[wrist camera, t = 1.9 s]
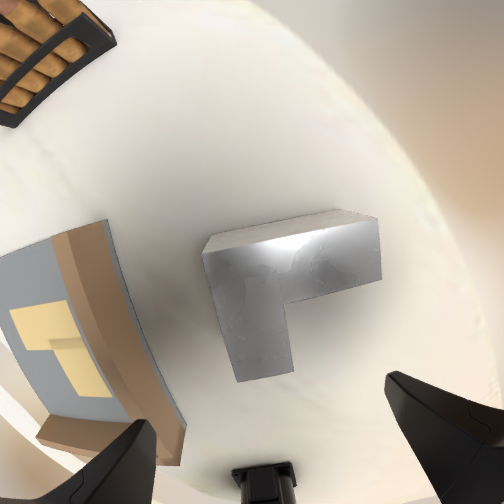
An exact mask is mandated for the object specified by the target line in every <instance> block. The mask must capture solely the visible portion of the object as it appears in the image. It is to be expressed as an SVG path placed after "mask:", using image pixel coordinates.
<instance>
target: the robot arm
mask: <svg viewBox="0 0 504 504" xmlns="http://www.w3.org/2000/svg"><path fill="white" fill-rule="evenodd" d="M384 391H385V395H386V397H387V400H388V402H389V404H390V407H391V409H392V411H393V414H394V416H395V419H396V421H397V423H398V425H399V427H400V429H401V431H402V432H403V434H404V436H405V437H406V439H407V441H408V443H409V444H410V446H411V448H412V450H413V451H414V453H415V455H416V457H417V459H418V460H419V462H420V464H421V466H422V468H423V469H424V471H425V473H426V475H427V477H428V479H429V480H430V482H431V484H432V486H433V488H434V490H435V492H436V494H437V495H438V497H439V499H440V501H441V503H442V504H504V410H501V409H497V408H493V407H489V406H485V405H482V404H479V403H476V402H473V401H471V400H468V401H467V399H465V398H463V397H460V396H457V395H455V394H452V393H450V392H447V391H445V390H442V389H440V388H437V387H435V386H432V385H430V384H427V383H425V382H423V381H420V380H418V379H415V378H413V377H411V376H408V375H406V374H404V373H401V372H399V371H393V372H390V373H388V374H387V375H386V379H385V388H384ZM156 448H157V434H156V431H155V430H154V428H153V427H152V425H151V424H150V422H149V421H148V420H147V419H136V420H135V421H134V422H133V423H132V424H131V425H130V426H129V427H128V428H127V429H125V430H124V431H123V432H122V433H121V434H120V435H119V436H118V437H117V438H116V439H115V440H113V441H112V442H111V443H110V444H109V445H108V446H107V447H106V448H105V449H103V450H102V451H101V452H100V453H99V454H98V455H97V456H95V457H94V458H93V459H92V460H91V461H90V462H89V463H87V464H86V465H85V466H84V467H83V469H80V470H79V471H78V472H77V473H76V474H74V475H73V476H72V477H71V478H70V479H68V480H67V481H65V482H64V483H62V484H61V485H60V486H58V487H57V488H55V489H53V490H52V491H50V492H49V493H47V494H46V495H44V496H42V497H40V498H37V499H31V500H25V499H10V498H1V497H0V504H151V500H152V493H153V485H154V478H155V471H156ZM232 477H233V478H234V480H235V482H236V483H237V485H238V486H239V488H240V489H241V504H296V500H295V494H294V489H293V487H296V486H297V484H296V480H295V475H294V471H293V467H292V463H283V464H278V465H272V466H266V467H259V468H251V469H242V470H234V471H232Z"/></svg>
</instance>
